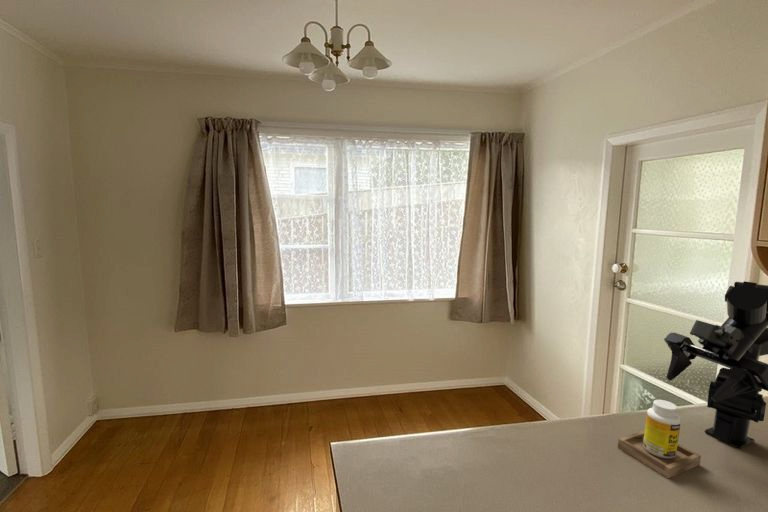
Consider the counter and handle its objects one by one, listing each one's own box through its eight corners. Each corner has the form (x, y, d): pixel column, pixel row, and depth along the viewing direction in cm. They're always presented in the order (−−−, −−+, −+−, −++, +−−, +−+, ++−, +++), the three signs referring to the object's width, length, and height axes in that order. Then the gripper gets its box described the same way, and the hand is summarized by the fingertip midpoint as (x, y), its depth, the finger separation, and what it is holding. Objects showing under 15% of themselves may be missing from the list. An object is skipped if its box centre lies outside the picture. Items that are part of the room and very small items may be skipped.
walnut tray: (648, 436, 86) (649, 428, 86) (699, 465, 77) (701, 455, 77) (617, 447, 82) (618, 438, 82) (668, 478, 73) (669, 468, 73)
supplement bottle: (668, 463, 76) (675, 414, 74) (637, 448, 80) (643, 401, 79) (680, 454, 79) (687, 406, 77) (650, 440, 83) (655, 394, 82)
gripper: (675, 297, 88) (630, 347, 86) (777, 322, 70) (723, 386, 68) (697, 329, 91) (654, 378, 89) (800, 360, 73) (748, 422, 72)
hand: (689, 389), depth 80 cm, fingers open, 9 cm apart
